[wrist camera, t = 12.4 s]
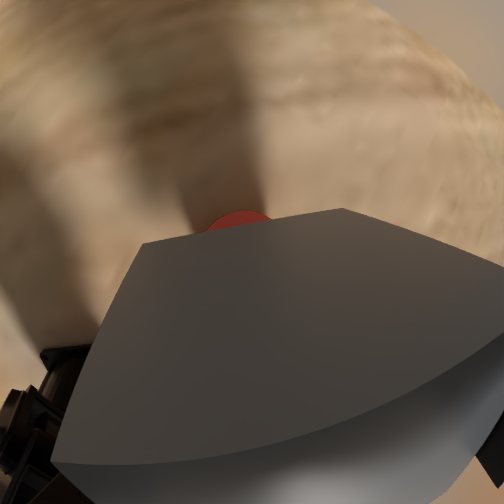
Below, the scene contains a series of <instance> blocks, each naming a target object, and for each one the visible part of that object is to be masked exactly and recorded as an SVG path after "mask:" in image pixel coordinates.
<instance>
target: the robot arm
mask: <svg viewBox="0 0 504 504" xmlns="http://www.w3.org/2000/svg"><path fill="white" fill-rule="evenodd" d="M91 346H92V344H89V345H81V346H72V347H63V348H53V349H44V350H42V351H41V353H40V358H41V360H42V362H43V363H44V365H45V367H46V369H47V371H48V372H47V374H46V376H45V378H44V380H43V382H42V384H41V386H40V388H39V390H37V389H36V388H35V387H34V386H32V385H30V386H29V387H28V388H27V389H26V391H24V390H23V391H22V390H21V391H19V390H15V389H12V390H11V391H10V393H9V394H8V396H7V398H6V400H5V402H4V404H3V406H2V408H1V410H0V504H95V503H94V502H93V501H92V500H90V499H89V498H88V497H87V496H86V495H85V494H83V493H82V492H81V491H80V490H79V489H78V488H77V487H76V486H75V485H74V484H72V483H71V482H70V481H69V480H68V479H67V478H66V477H65V476H64V475H63V474H62V473H61V472H60V471H59V470H58V469H57V468H56V467H55V466H54V465H53V464H52V463H51V462H50V460H51V456H52V453H53V450H54V446H55V443H56V440H57V436H58V433H59V430H60V427H61V424H62V421H63V418H64V415H65V412H66V410H67V407H68V404H69V401H70V399H71V396H72V393H73V391H74V388H75V385H76V383H77V380H78V378H79V375H80V373H81V370H82V368H83V365H84V363H85V360H86V358H87V356H88V353H89V351H90V349H91ZM45 355H46V356H47V357H46V356H45ZM475 456H476V457H477V459H478V460H479V462H480V463H481V465H482V466H483V468H484V469H485V471H486V472H487V474H488V475H489V477H490V478H491V480H492V482H493V483H494V484H495V486H496V487H497V488H498V489H499V488H500V487H501V486H502V485H503V484H504V411H503V413H502V414H501V416H500V418H499V419H498V421H497V423H496V424H495V426H494V428H493V429H492V431H491V432H490V434H489V436H488V437H487V439H486V440H485V442H484V443H483V445H482V446H481V448H480V449H479V450H478V452H477V453H476V455H475Z"/></svg>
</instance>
